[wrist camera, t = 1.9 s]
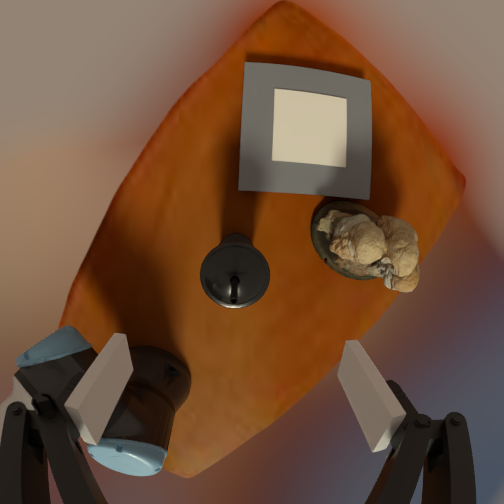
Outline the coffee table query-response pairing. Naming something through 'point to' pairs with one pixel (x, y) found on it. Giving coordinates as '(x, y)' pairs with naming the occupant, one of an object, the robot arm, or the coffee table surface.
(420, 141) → the coffee table surface
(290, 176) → the base
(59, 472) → the robot arm
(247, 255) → the drinking cup
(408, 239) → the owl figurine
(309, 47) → the coffee table surface
